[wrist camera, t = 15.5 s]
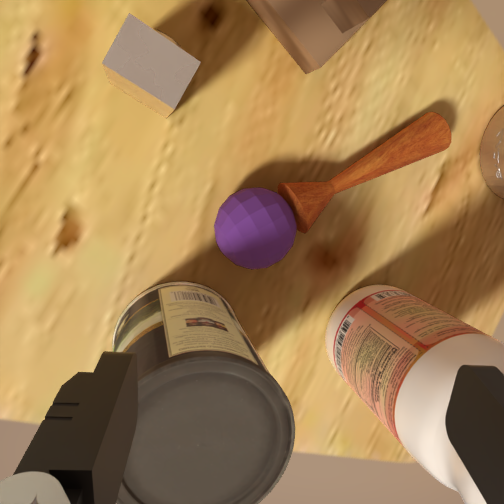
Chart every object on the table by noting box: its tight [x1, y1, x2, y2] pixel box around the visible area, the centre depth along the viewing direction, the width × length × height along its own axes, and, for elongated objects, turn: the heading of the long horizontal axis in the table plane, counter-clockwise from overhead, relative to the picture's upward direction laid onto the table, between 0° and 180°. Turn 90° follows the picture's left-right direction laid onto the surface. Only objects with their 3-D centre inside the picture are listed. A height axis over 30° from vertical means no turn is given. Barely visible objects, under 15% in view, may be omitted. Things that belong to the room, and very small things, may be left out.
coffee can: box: [113, 282, 295, 504], centre depth 31 cm, size 10×10×14 cm
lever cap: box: [102, 13, 201, 118], centre depth 29 cm, size 4×3×8 cm
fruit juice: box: [325, 285, 504, 504], centre depth 28 cm, size 9×9×28 cm
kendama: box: [214, 112, 451, 269], centre depth 35 cm, size 6×6×20 cm
